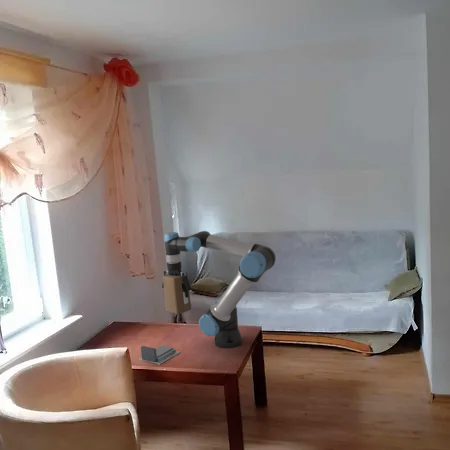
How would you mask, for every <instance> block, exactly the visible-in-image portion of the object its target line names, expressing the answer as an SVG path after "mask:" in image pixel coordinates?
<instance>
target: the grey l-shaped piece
mask: <svg viewBox="0 0 450 450" xmlns="http://www.w3.org/2000/svg"><path fill="white" fill-rule="evenodd" d="M180 353H181V351H179V350H176V348H174V347H172V346H168V345H160V346H159V347H156V348H155V347H150V346H145V345H141V346H140V354H141V357H139V358H138V359H139V361H143V362H148V363H151V364H156V365H161V364H163V363H165V362H166V361H168V360H170V359H173V358H174V357H175V356H177V355H178V354H180Z"/></svg>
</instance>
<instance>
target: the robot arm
mask: <svg viewBox="0 0 450 450" xmlns="http://www.w3.org/2000/svg"><path fill="white" fill-rule="evenodd" d="M163 243H164V248H165V256H166V259H165V260H166V266H167V267H166V268H167V270H164V271H163V276H165V275H168V274H169V275H170V276H172V275H174V276H180V275H181V276H182V278H183V281H184V283H182V288H183V290H184V292H183V298H184V304H186V303H188V297H189V294H188V291H189V292H190V291H191V290H192V286H191V284H190V282H189V277H188V278H187V275H188V273H187V272H186V271H184V272H183V271H182V261H181V260H182V259H181V257H182V256H181V252H189V253H195V252H198V251H199V250H200V249H201V248H206V249H209V250H212V251H213V250H214V251H217V252H221V253H225V254H227V255H231V256H236V257H239V258H241V259H240V263H239V266H238V267H237V274H236V276H235V277H234V278H233V280H232V281H231V283H230V284H229V285H228V287H227V288H226V289H225V291H224V292H223V294H222V295H221V296H220V298H219V299H218V300H217V301H215V303H214V304H213V303H212V305H210V307H209V308H208V309H207V311H206V313H205V314H202V315H201V316H200V318H199V320H198V326H199V329H200V330H201V332H202V333H203V334H204V335H206V336H208V337H214V340H213V341H214V345H215V346H216V347H219V348H224V349H229V348H230V349H231V348H235V347H238V346H240V345H241V344H242V343H243V336H242V335H241V331H240V330H239V322H238V308H237V305H238V303H239V302H240V300H242V299H243V297H244V296H245V294H246V293H247V291H248V290H249V289H250V287H251V286H252V285H253V284H254V283H255V284H256V283H258V282H259V280H260V279H261V277H262V276H263V275H264V274H265V273H266V272H267V271H268V270H270V269H271V268H273V267H274V265H275V263H276V258H277V257H276V254H275V251H274V250H273V249H272V248H270V247H269V246H267V245H264V244H263V245H262V244H258V243H253V244H250V243H247V242H242V241H238V240H234V239H230V238H226V237H222V236H218V235H214V234H211V233H210V232H209V231H207V230H202V231H199V232H197V233H196V232H195V233H194V234H191V235H189V236H180V235H179V233H178V232H176V231H175V232H174V231H173V232H167V233H165V234H164V242H163ZM161 286H162V288H163V289H164V284H163V283H162V284H161Z"/></svg>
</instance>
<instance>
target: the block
mask: <svg viewBox="0 0 450 450" xmlns="http://www.w3.org/2000/svg"><path fill="white" fill-rule="evenodd" d="M187 278H188V279H189V276H188V274H187ZM182 283H184V281H183V278H182V276H181V275H180V276H174V275H172V276H170V275H169V274H168V275H165V276H164V275H163V276H162V284H164V288H163V291H164V303H165V311H166V312H167V313H169V314H174V315H176V316H177V315H180V314H183V313H185V312H188V311H191V309H192V305H191V304H192V303H191V296H190V295H191V294H190V290H189V291H188V294H189V297H188V303H186V304H184V298H183V292H184V290H183V288H182Z"/></svg>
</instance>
